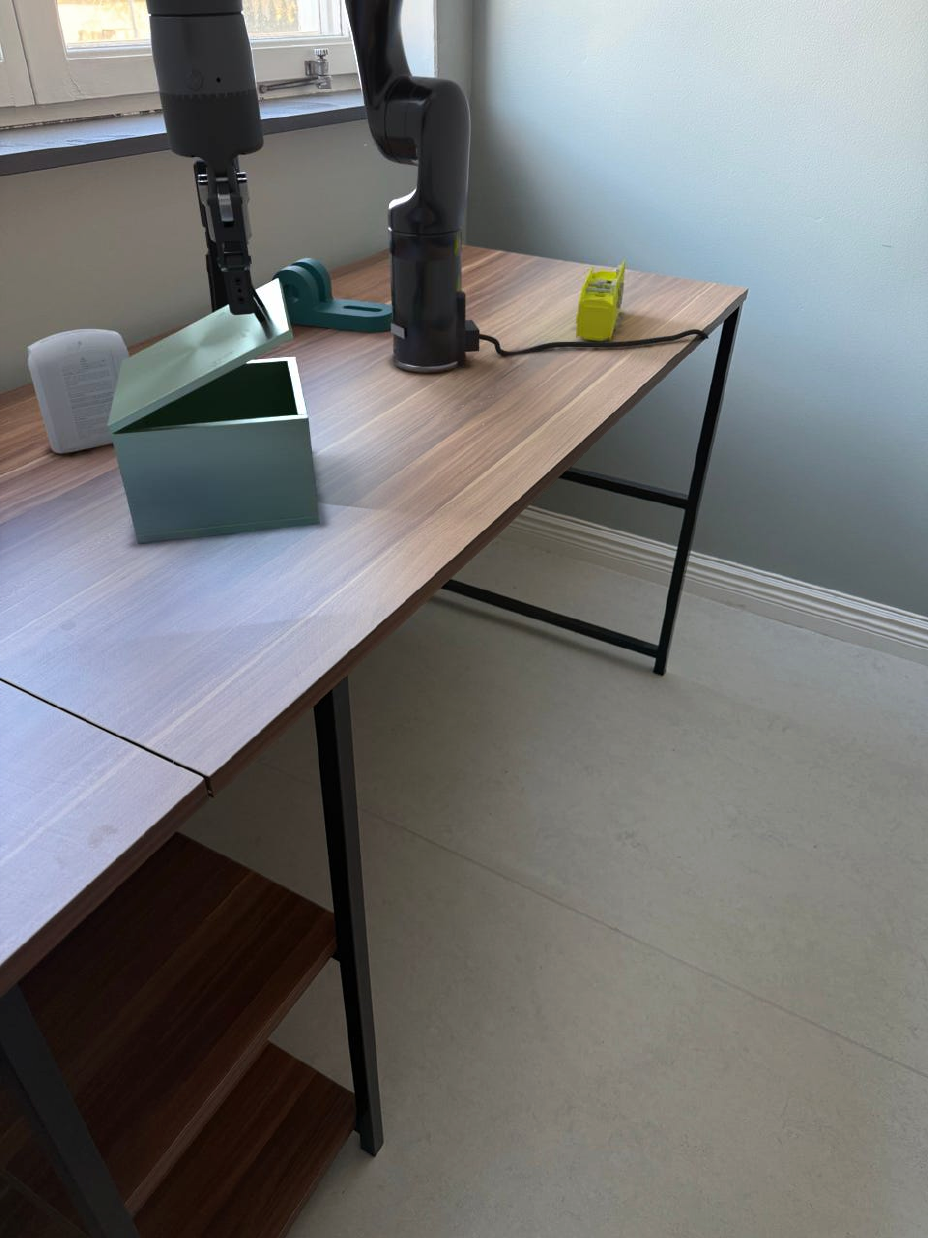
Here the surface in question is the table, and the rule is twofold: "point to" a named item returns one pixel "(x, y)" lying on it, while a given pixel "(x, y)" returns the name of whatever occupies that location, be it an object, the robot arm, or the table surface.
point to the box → (222, 458)
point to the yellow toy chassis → (600, 304)
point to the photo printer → (77, 385)
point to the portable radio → (212, 249)
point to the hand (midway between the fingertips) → (242, 302)
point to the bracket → (327, 301)
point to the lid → (198, 355)
